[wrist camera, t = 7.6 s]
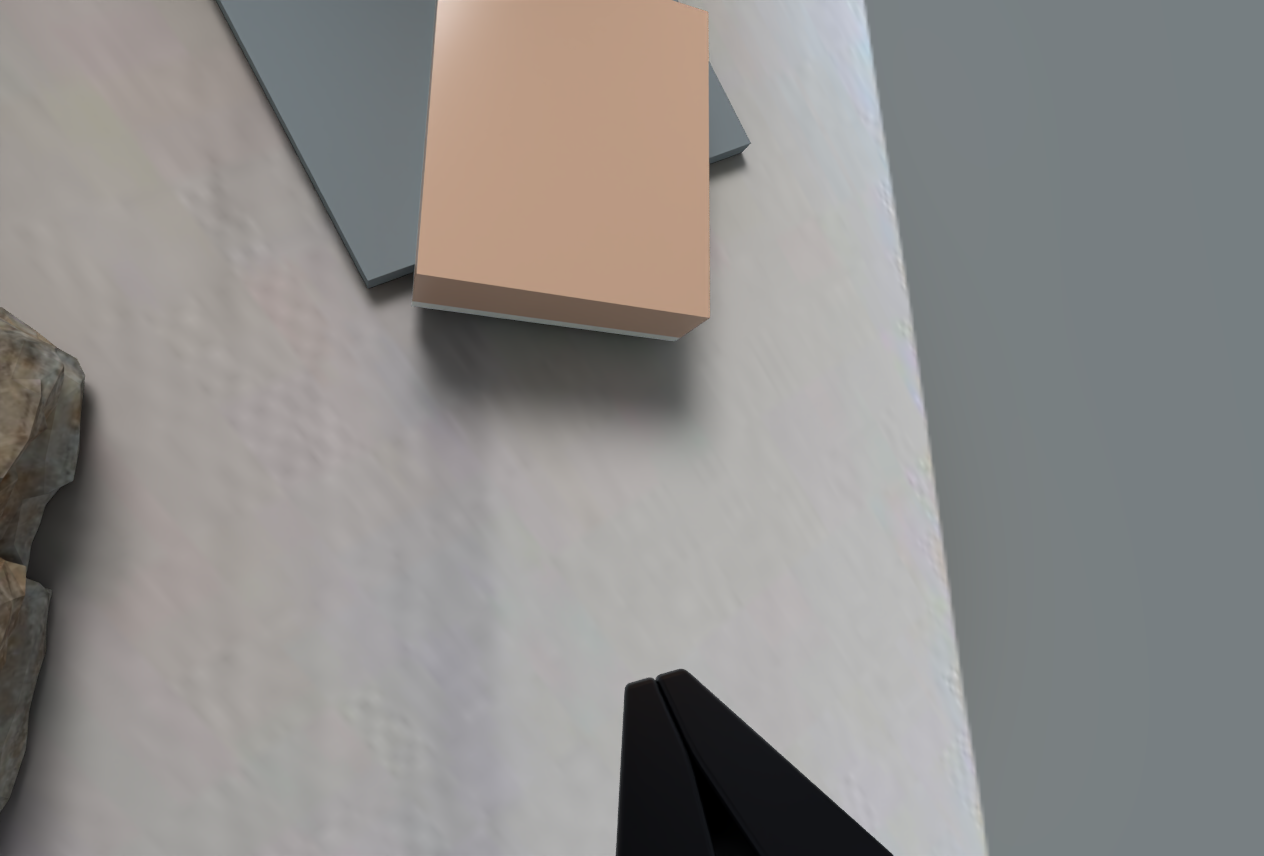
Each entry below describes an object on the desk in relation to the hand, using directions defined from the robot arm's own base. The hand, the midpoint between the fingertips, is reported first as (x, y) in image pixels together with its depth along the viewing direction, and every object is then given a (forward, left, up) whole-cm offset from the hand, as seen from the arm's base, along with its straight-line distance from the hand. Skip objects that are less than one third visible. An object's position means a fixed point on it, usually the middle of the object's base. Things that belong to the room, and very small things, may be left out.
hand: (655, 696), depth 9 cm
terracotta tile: (+7, -5, -9) cm, 12 cm away
